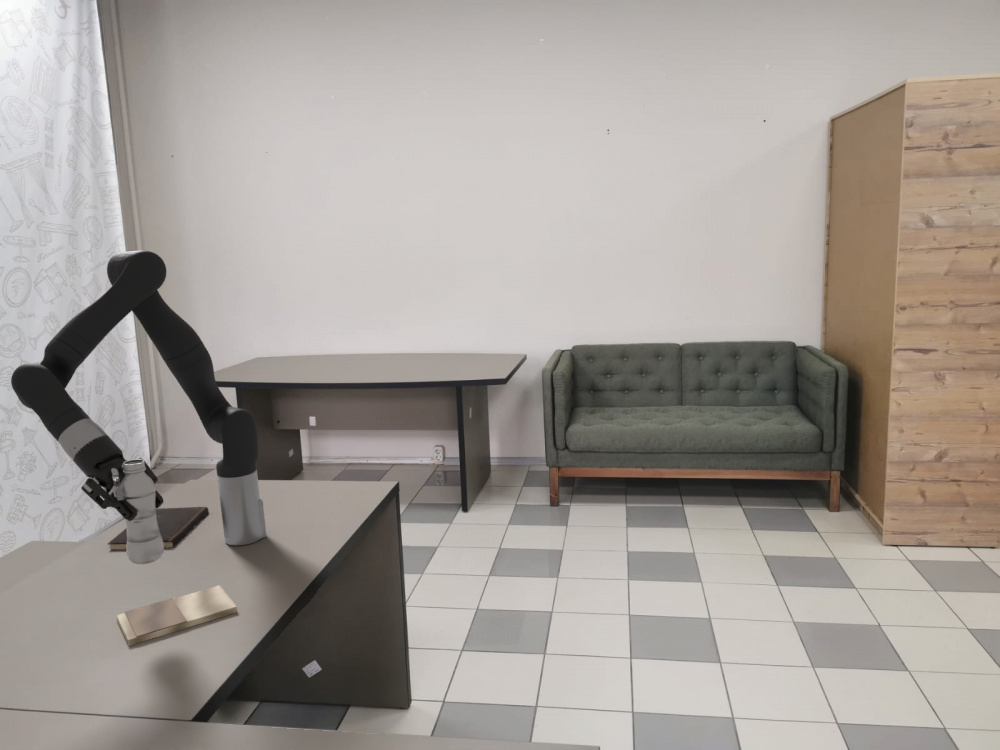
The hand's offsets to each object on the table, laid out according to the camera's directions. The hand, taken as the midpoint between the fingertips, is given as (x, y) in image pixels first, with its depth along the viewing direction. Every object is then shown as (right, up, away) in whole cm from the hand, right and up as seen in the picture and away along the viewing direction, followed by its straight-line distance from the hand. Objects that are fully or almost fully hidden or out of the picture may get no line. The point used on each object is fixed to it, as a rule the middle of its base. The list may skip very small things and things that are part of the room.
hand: (147, 511), depth 148 cm
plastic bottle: (-1, -10, +3) cm, 11 cm away
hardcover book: (-20, -15, +53) cm, 59 cm away
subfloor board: (+3, -22, +7) cm, 24 cm away
